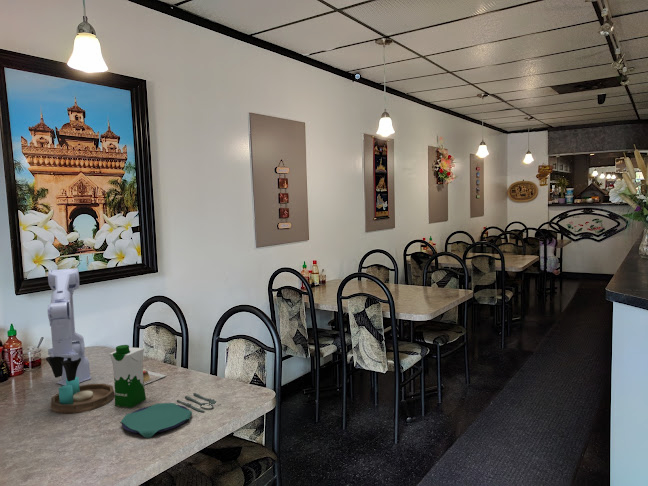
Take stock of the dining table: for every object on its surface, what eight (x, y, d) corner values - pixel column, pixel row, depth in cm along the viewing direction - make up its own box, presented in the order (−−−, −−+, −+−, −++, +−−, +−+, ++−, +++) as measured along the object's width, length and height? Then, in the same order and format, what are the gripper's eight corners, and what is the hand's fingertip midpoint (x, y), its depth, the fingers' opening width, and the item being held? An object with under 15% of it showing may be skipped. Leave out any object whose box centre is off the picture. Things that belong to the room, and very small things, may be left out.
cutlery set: (109, 425, 144) (109, 418, 144) (193, 395, 167) (193, 388, 167) (144, 445, 132) (143, 437, 131) (229, 409, 155) (229, 402, 154)
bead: (74, 401, 161) (73, 384, 161) (72, 405, 157) (70, 388, 157) (61, 403, 160) (59, 385, 159) (58, 407, 156) (57, 390, 156)
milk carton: (110, 406, 158) (106, 347, 157) (129, 396, 167) (126, 340, 165) (131, 409, 155) (128, 349, 154) (150, 398, 164) (146, 341, 162)
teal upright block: (81, 394, 167) (80, 378, 166) (69, 398, 164) (68, 381, 163) (77, 392, 169) (76, 375, 169) (65, 395, 166) (63, 379, 166)
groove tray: (93, 386, 177) (92, 380, 177) (126, 396, 167) (126, 389, 166) (38, 406, 160) (38, 399, 160) (72, 418, 150) (71, 410, 150)
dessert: (141, 388, 175) (140, 376, 174) (120, 383, 181) (119, 371, 181) (167, 378, 185) (166, 366, 185) (146, 373, 191) (146, 361, 191)
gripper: (37, 338, 157) (40, 378, 158) (62, 344, 150) (65, 386, 151) (58, 333, 163) (61, 372, 164) (83, 338, 156) (86, 379, 157)
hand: (64, 378), depth 158 cm, fingers open, 7 cm apart
